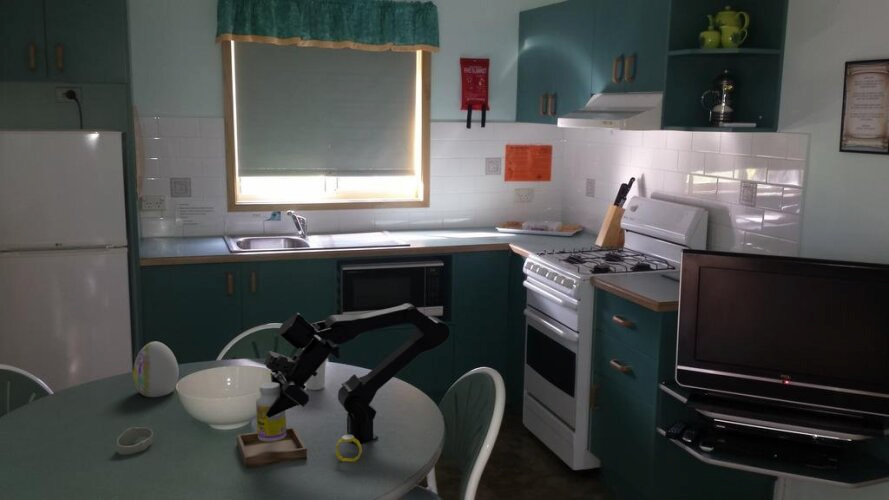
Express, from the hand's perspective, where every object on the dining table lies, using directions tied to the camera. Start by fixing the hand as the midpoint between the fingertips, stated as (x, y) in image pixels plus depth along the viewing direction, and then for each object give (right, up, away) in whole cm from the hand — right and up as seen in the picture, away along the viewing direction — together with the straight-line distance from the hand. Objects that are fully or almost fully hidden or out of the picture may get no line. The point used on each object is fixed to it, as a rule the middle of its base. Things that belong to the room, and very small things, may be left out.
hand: (264, 411), depth 194 cm
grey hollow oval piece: (-32, -10, +4) cm, 34 cm away
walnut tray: (+1, -10, +2) cm, 10 cm away
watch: (+20, -11, -2) cm, 23 cm away
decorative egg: (-40, -3, +42) cm, 58 cm away
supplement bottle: (+1, -7, +1) cm, 7 cm away
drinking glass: (+5, -3, +47) cm, 47 cm away
